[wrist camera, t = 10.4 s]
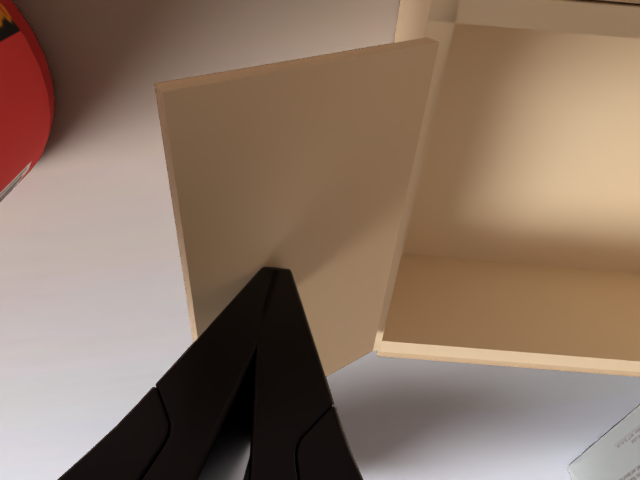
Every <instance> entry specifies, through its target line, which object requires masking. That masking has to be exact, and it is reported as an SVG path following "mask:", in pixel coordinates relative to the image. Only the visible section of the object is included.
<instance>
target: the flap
mask: <svg viewBox="0 0 640 480" xmlns="http://www.w3.org/2000/svg"><path fill="white" fill-rule="evenodd" d="M438 47H439V42H438V41H435V40H433V39H431V38H428V37H425V38H419V39H414V40H408V41H402V42H396V43H390V44H384V45H378V46H372V47H366V48H361V49H355V50H349V51H343V52H337V53H331V54H325V55H319V56H313V57H308V58H302V59H296V60H290V61H284V62H278V63H272V64H266V65H260V66H254V67H249V68H243V69H237V70H231V71H225V72H219V73H213V74H207V75H201V76H196V77H190V78H184V79H178V80H172V81H166V82H160V83H154V85H155V91H156V98H157V105H158V111H159V118H160V125H161V131H162V138H163V144H164V151H165V158H166V164H167V171H168V178H169V184H170V191H171V197H172V204H173V211H174V217H175V224H176V231H177V237H178V244H179V251H180V257H181V264H182V270H183V277H184V284H185V290H186V297H187V304H188V310H189V317H190V324H191V330H192V337H193V342H194V341H195V340H196V339H197V338H198V337H199V336H200V335H201V334H202V333H203V331H204V330H205V329H206V328H207V327H208V326H209V325H210V324H211V323H212V322H213V320H214V319H215V318H216V317H217V316H218V315H219V314H220V313H221V312H222V311H223V309H224V308H225V307H226V306H227V305H228V304H229V303H230V302H231V301H232V300H233V298H234V297H235V296H236V295H237V294H238V293H239V292H240V291H241V290H242V289H243V287H244V286H245V285H246V284H247V283H248V282H249V281H250V280H251V279H252V278H253V276H254V275H255V274H256V273H257V272H258V271H259V270H260V269H261V268H262V267H277V268H286V269H290V270H291V271H292V274H293V277H294V280H295V283H296V286H297V289H298V292H299V295H300V298H301V301H302V305H303V308H304V311H305V314H306V317H307V320H308V323H309V326H310V329H311V333H312V336H313V339H314V342H315V345H316V348H317V351H318V354H319V357H320V361H321V364H322V367H323V370H324V373H325V376H326V377H327V376H328V375H330V374H332V373H334V372H335V371H337V370H339V369H341V368H343V367H344V366H346V365H348V364H350V363H351V362H353V361H355V360H357V359H359V358H360V357H362V356H364V355H366V354H368V353H369V352H371V351H373V348H374V343H375V338H376V334H377V329H378V324H379V320H380V315H381V311H382V306H383V301H384V297H385V292H386V287H387V283H388V278H389V273H390V269H391V264H392V260H393V255H394V250H395V246H396V241H397V236H398V232H399V227H400V223H401V218H402V213H403V209H404V204H405V199H406V195H407V190H408V185H409V181H410V176H411V172H412V167H413V162H414V158H415V153H416V148H417V144H418V139H419V135H420V130H421V125H422V121H423V116H424V111H425V107H426V102H427V97H428V93H429V88H430V84H431V79H432V74H433V70H434V65H435V60H436V56H437V51H438Z"/></svg>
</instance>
